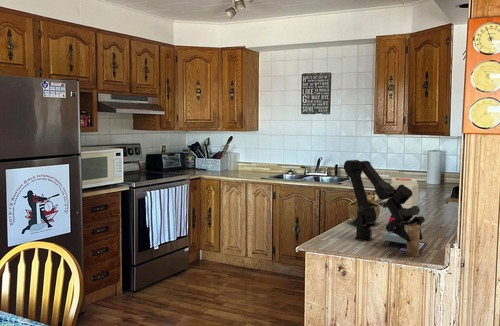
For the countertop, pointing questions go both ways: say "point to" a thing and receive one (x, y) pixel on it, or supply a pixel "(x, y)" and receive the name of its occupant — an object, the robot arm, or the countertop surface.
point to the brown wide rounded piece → (354, 207)
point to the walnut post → (413, 240)
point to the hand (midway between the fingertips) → (415, 240)
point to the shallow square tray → (392, 238)
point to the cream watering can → (408, 183)
